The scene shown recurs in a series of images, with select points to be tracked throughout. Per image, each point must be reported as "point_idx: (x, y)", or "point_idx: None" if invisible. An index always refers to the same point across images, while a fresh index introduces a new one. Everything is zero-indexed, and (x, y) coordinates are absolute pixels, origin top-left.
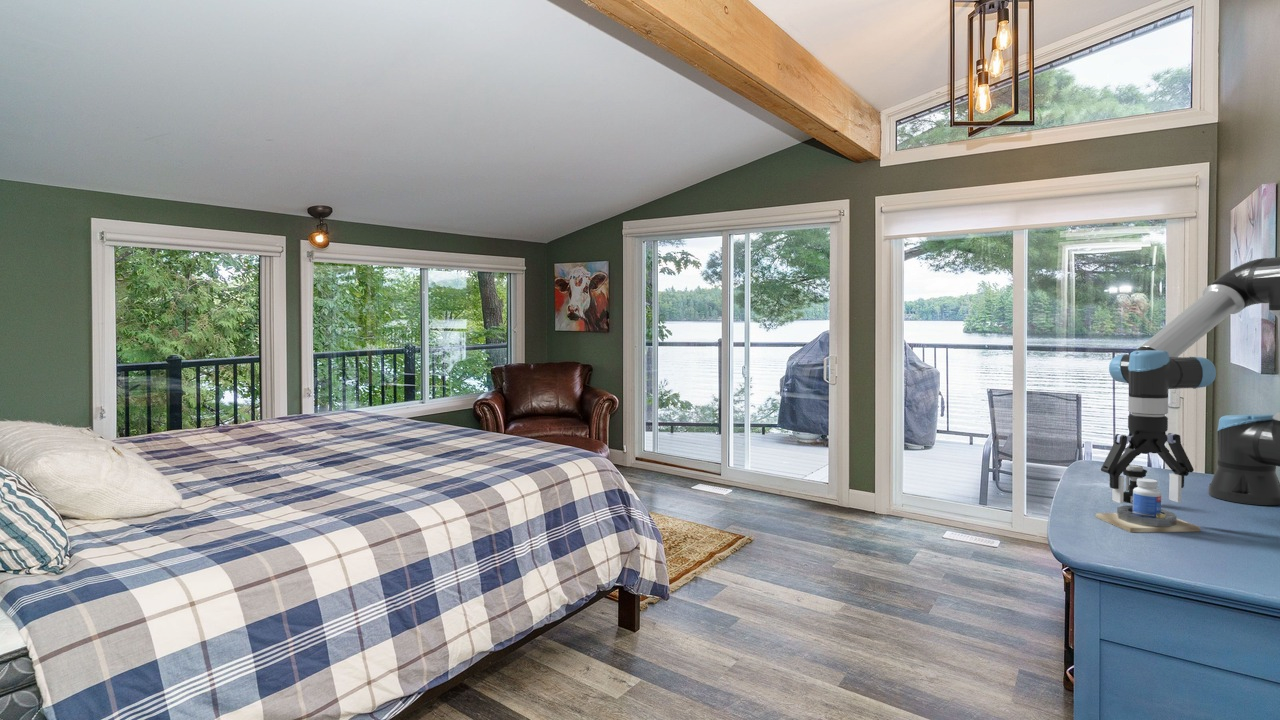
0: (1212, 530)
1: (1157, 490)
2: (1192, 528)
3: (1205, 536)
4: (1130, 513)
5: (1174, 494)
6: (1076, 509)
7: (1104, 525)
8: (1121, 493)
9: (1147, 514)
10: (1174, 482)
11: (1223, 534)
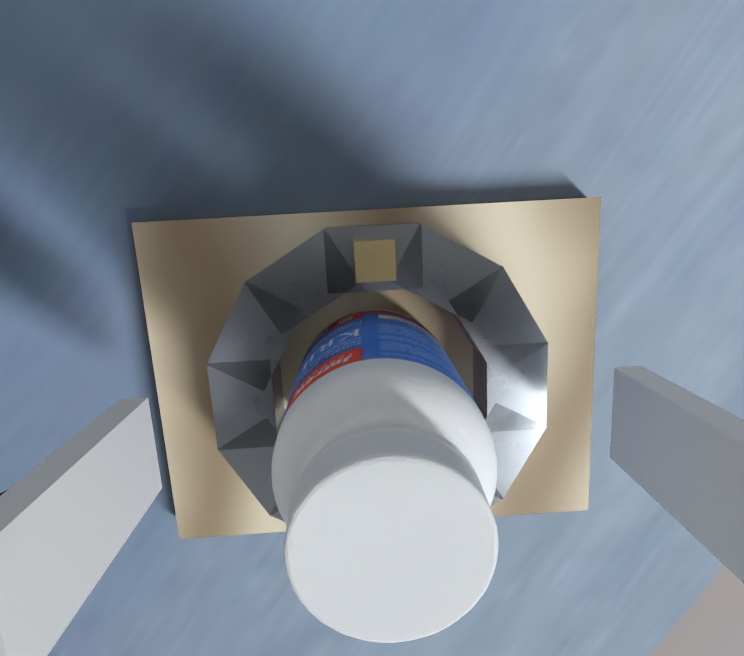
0: (53, 245)
1: (325, 425)
2: (188, 220)
3: (178, 116)
4: (519, 353)
5: (128, 462)
6: (577, 639)
7: (638, 339)
8: (688, 395)
9: (418, 329)
10: (64, 537)
11: (36, 160)
